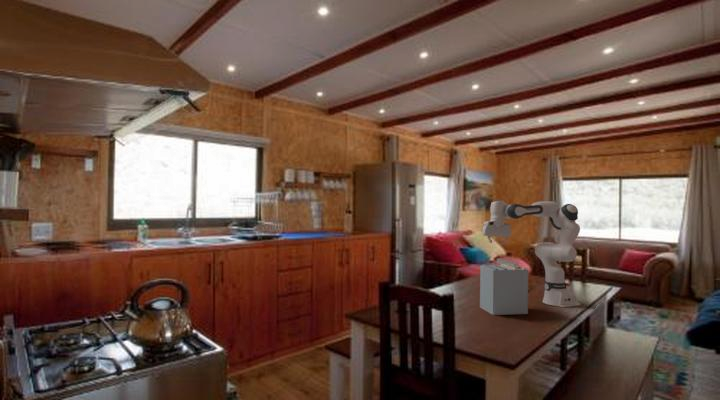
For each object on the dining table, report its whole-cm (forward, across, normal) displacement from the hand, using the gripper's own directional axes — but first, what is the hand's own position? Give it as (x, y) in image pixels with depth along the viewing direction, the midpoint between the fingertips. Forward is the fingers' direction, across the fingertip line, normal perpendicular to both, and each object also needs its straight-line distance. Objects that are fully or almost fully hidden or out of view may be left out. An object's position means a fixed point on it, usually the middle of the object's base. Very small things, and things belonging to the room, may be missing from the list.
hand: (496, 242), depth 260 cm
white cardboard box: (+40, +12, +29) cm, 51 cm away
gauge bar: (+13, +7, +25) cm, 29 cm away
